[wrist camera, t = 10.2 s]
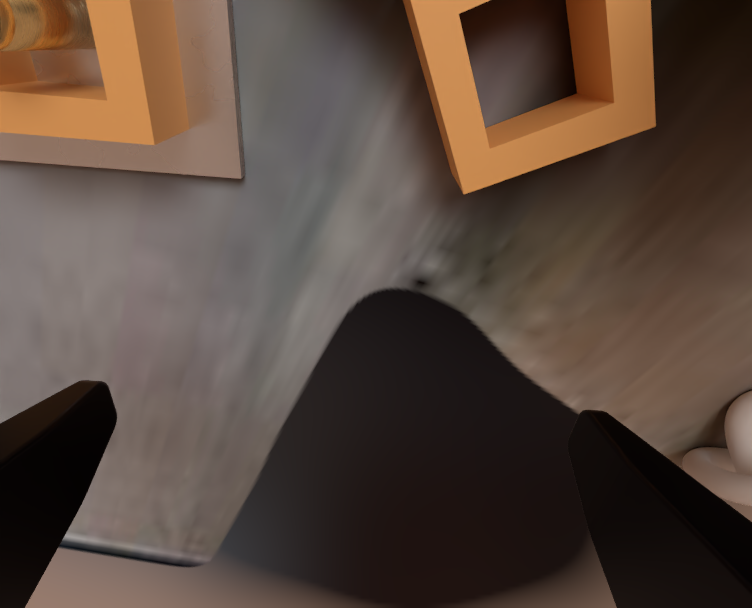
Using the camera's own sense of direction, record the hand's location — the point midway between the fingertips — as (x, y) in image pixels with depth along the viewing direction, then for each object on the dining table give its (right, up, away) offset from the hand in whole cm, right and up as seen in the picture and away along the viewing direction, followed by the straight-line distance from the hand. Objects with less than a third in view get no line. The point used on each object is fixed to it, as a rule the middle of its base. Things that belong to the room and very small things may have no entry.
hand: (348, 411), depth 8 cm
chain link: (+5, +11, +7) cm, 14 cm away
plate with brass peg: (-9, +12, +7) cm, 17 cm away
